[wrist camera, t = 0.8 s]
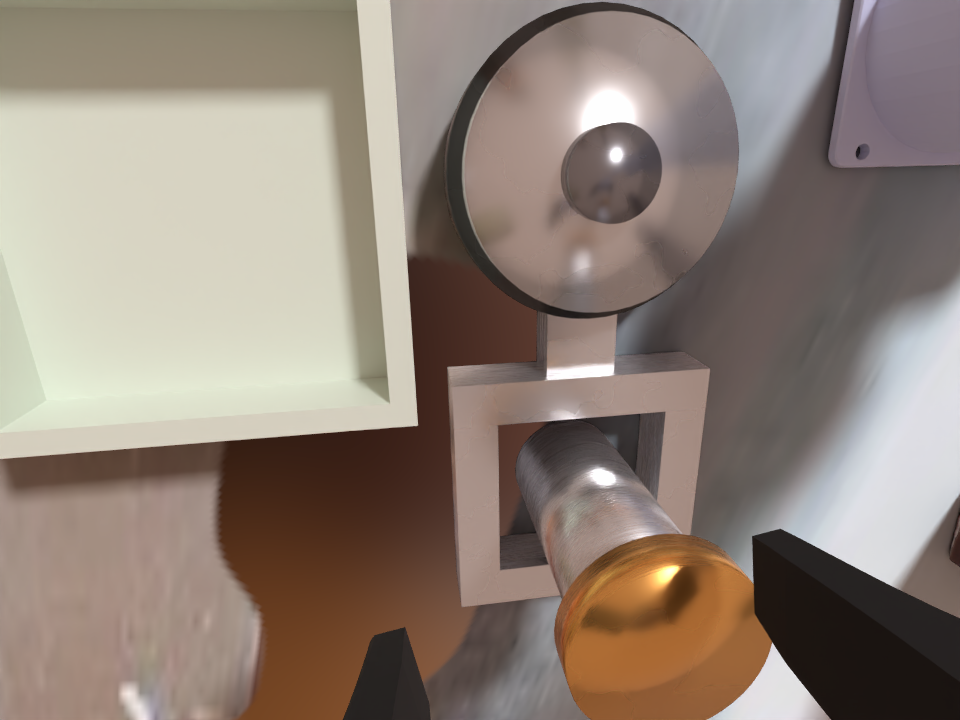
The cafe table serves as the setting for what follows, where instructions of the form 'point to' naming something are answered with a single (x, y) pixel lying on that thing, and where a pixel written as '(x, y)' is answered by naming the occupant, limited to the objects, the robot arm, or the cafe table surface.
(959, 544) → the box
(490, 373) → the tensioner bracket
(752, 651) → the jar with gold lid
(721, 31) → the cafe table surface
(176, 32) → the parts tray
